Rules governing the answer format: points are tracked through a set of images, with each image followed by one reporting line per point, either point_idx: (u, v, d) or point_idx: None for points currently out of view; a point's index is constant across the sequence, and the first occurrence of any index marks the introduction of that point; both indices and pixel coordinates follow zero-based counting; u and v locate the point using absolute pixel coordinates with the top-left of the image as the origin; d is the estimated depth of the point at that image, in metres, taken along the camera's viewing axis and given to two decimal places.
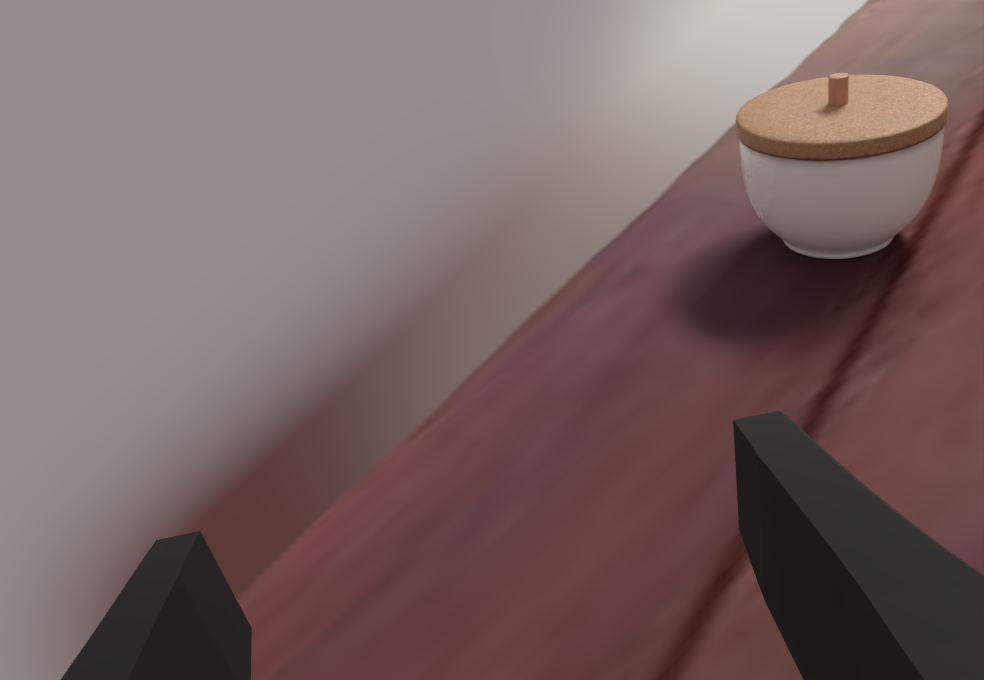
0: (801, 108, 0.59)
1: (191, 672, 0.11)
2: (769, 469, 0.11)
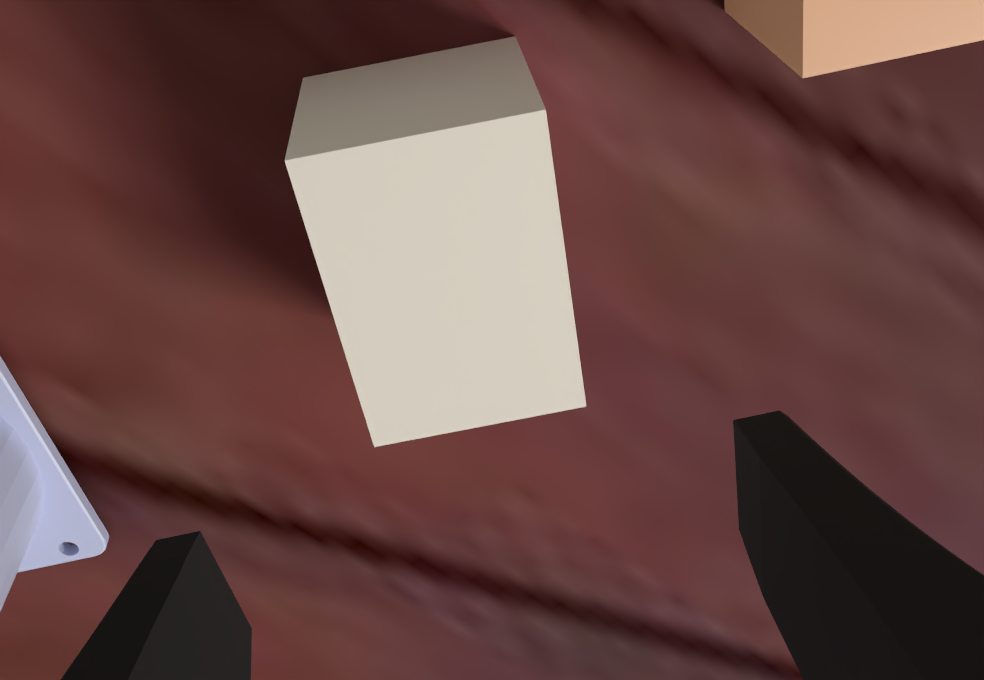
0: None
1: (191, 672, 0.11)
2: (769, 469, 0.11)
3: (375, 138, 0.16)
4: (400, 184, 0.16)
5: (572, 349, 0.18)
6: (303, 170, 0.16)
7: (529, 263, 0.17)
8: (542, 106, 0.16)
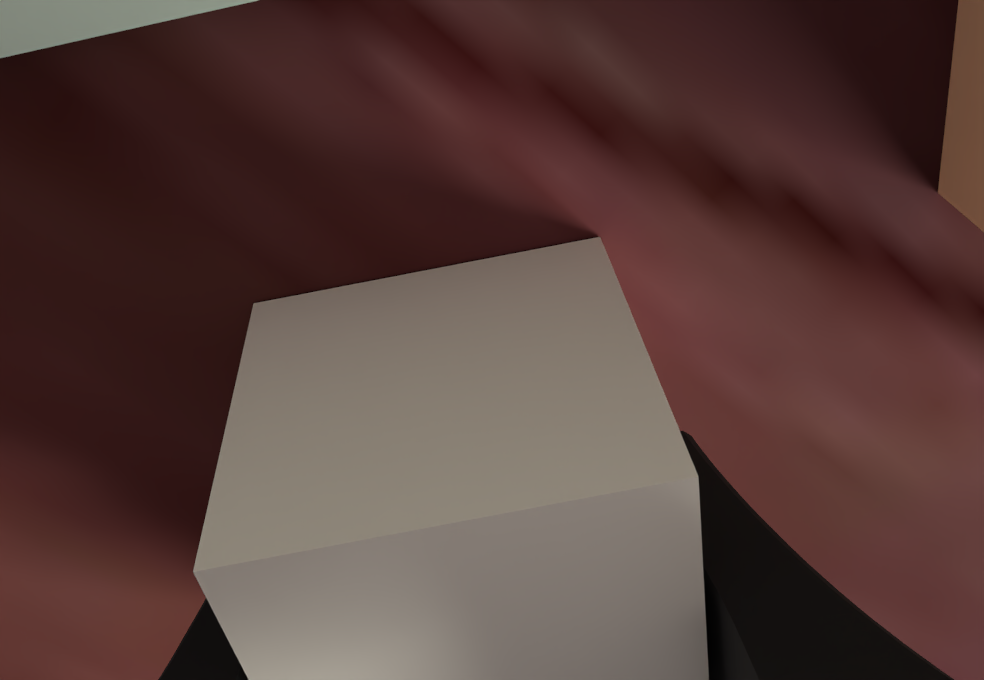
0: None
1: None
2: None
3: (368, 522, 0.08)
4: (415, 595, 0.09)
5: None
6: (230, 584, 0.08)
7: None
8: (689, 464, 0.08)
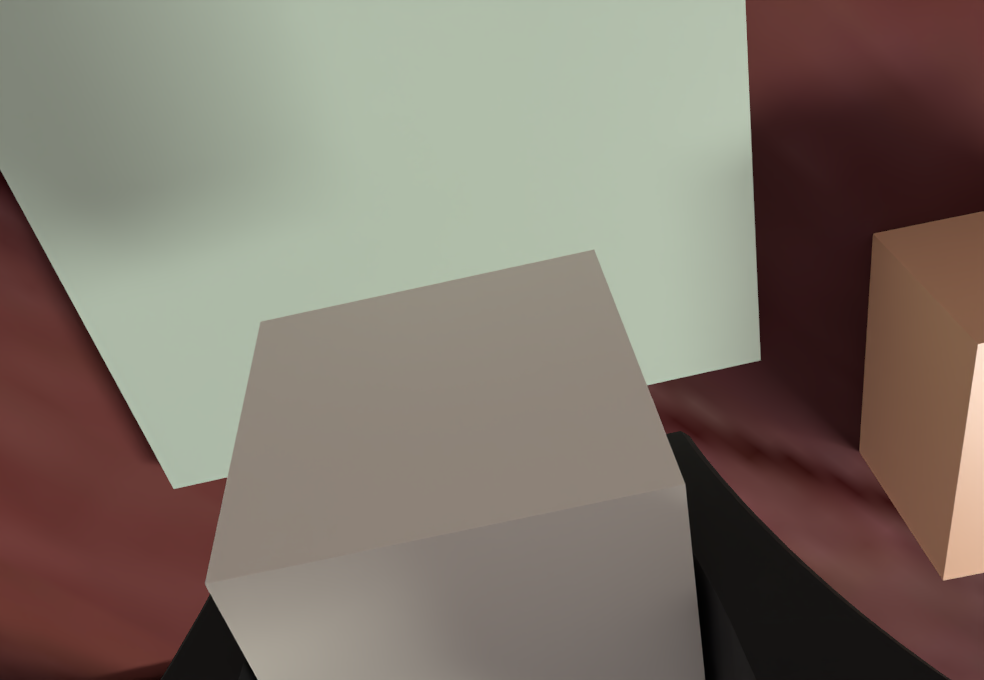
0: None
1: None
2: None
3: (371, 533, 0.09)
4: (418, 602, 0.09)
5: None
6: (241, 595, 0.09)
7: None
8: (677, 472, 0.09)
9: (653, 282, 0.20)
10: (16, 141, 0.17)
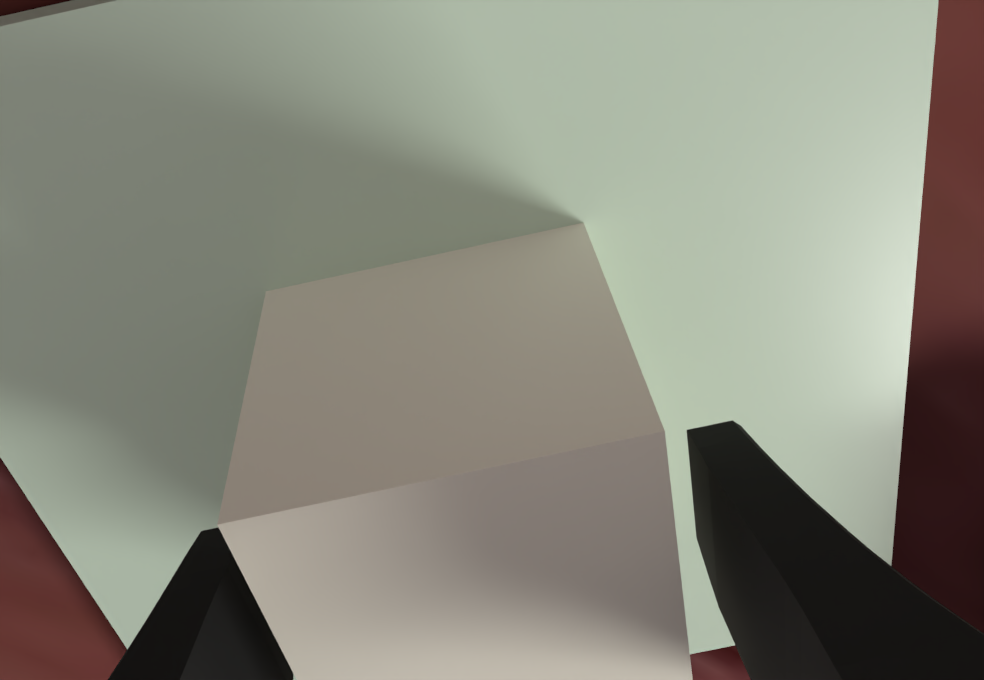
0: None
1: (240, 662, 0.11)
2: (717, 480, 0.11)
3: (372, 478, 0.09)
4: (416, 544, 0.10)
5: None
6: (250, 536, 0.09)
7: (626, 630, 0.11)
8: (657, 420, 0.09)
9: None
10: (15, 420, 0.14)
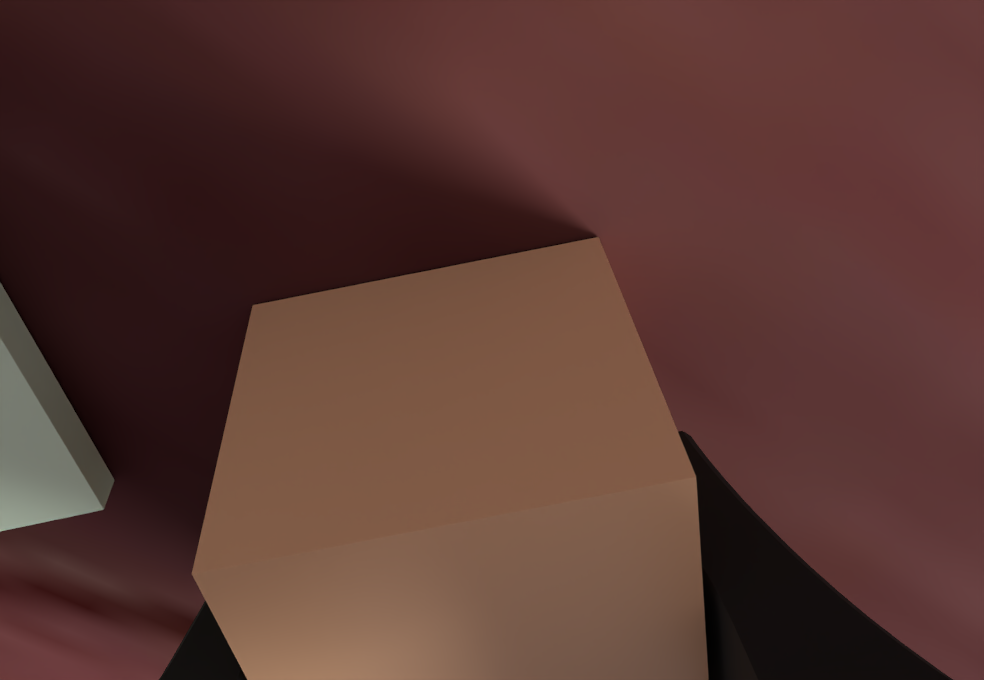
0: None
1: None
2: None
3: None
4: None
5: None
6: None
7: None
8: None
9: None
10: None
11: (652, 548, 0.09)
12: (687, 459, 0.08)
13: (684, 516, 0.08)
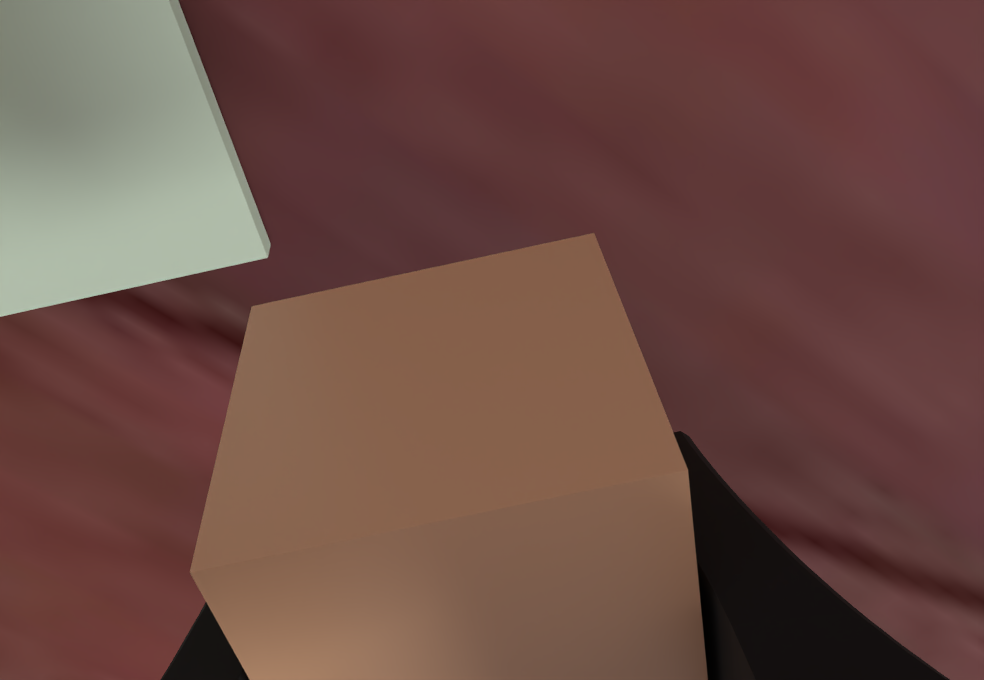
0: None
1: None
2: None
3: None
4: None
5: None
6: None
7: None
8: None
9: (112, 163, 0.18)
10: None
11: (647, 543, 0.09)
12: (679, 452, 0.08)
13: (677, 509, 0.08)
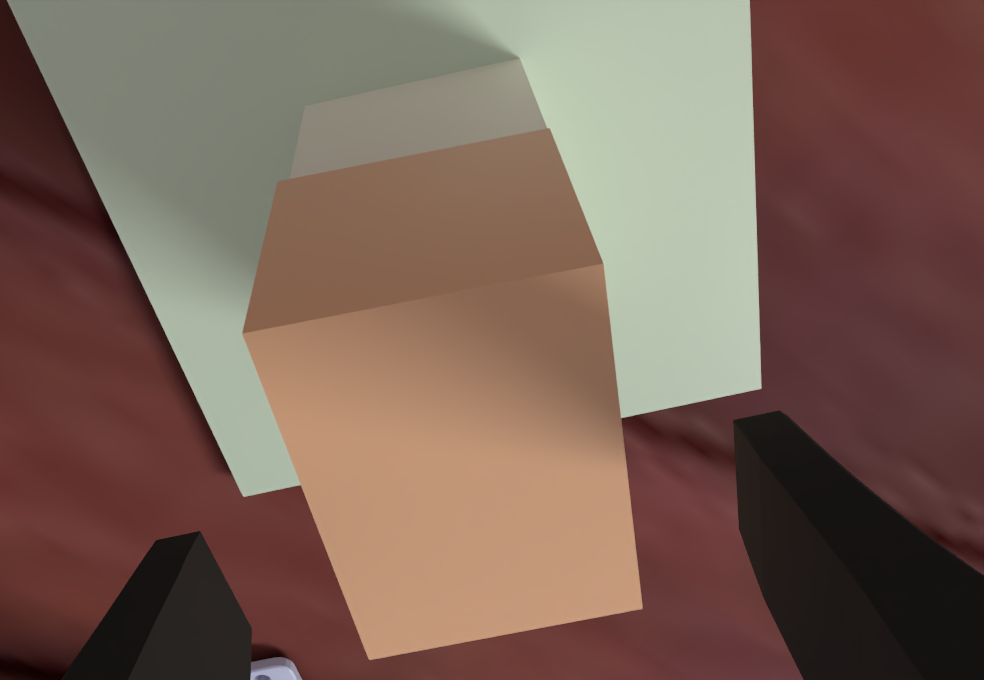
0: None
1: (191, 672, 0.11)
2: (769, 469, 0.11)
3: None
4: None
5: None
6: None
7: None
8: None
9: (669, 321, 0.23)
10: (129, 202, 0.20)
11: (575, 324, 0.12)
12: (598, 255, 0.12)
13: (596, 296, 0.12)
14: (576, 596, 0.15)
